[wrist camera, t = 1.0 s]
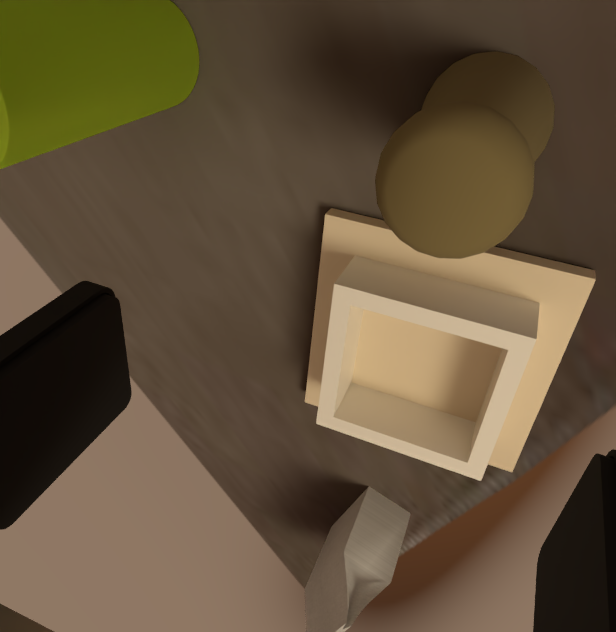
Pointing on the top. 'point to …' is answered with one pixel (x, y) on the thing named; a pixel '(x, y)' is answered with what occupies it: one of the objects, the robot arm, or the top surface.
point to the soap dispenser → (87, 69)
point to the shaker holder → (436, 344)
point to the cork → (467, 157)
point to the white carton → (354, 562)
